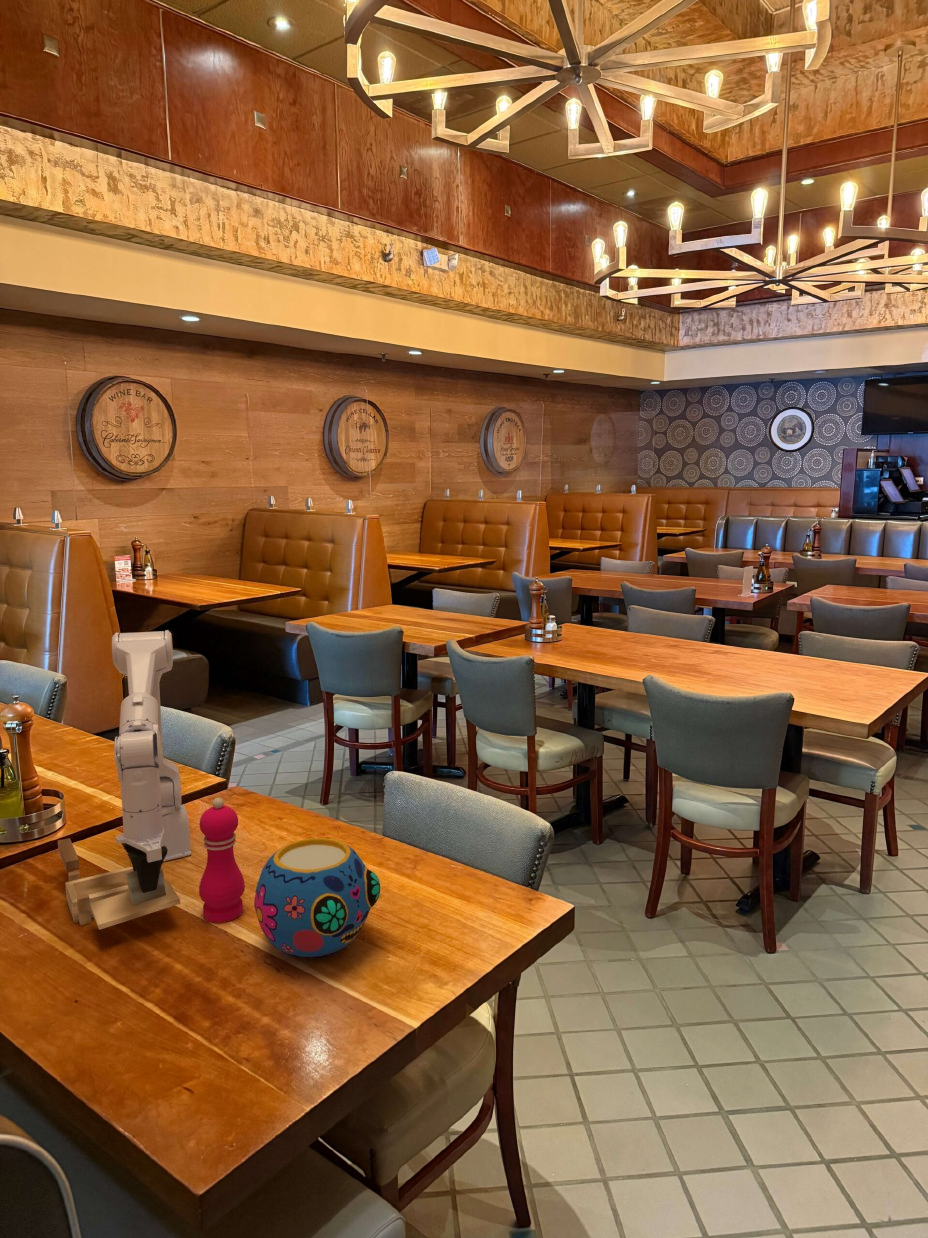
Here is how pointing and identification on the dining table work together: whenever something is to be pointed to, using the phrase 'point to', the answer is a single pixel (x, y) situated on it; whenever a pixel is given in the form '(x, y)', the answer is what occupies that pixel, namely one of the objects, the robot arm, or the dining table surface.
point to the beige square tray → (93, 891)
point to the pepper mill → (220, 865)
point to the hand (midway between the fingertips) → (146, 886)
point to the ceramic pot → (314, 897)
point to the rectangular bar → (68, 855)
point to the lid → (133, 902)
